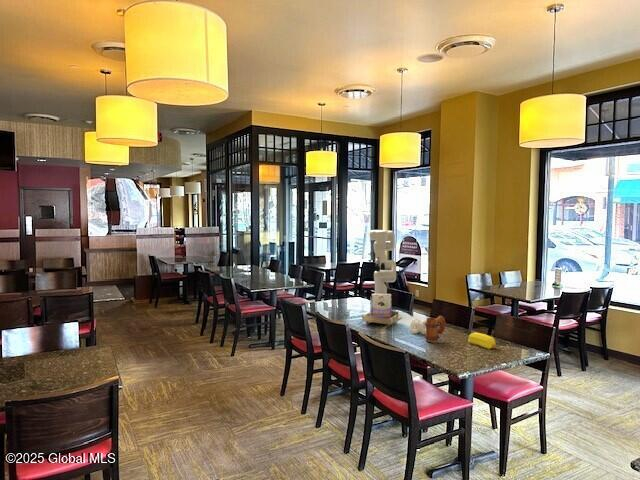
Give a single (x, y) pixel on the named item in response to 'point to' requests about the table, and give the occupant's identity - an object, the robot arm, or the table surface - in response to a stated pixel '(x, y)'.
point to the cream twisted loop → (418, 326)
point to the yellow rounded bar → (482, 340)
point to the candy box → (381, 305)
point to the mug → (434, 328)
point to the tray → (385, 321)
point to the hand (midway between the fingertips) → (380, 270)
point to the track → (386, 325)
